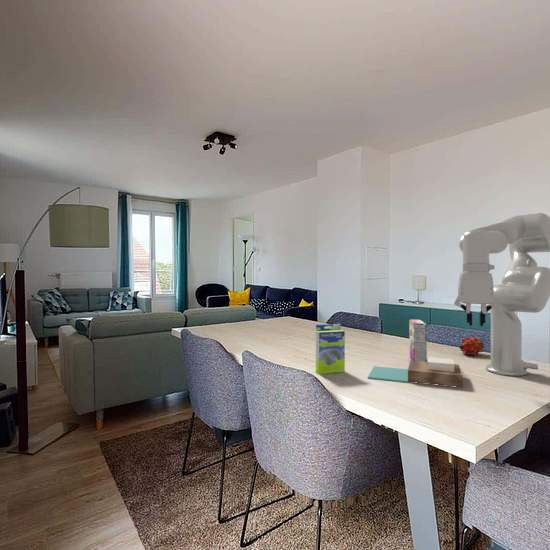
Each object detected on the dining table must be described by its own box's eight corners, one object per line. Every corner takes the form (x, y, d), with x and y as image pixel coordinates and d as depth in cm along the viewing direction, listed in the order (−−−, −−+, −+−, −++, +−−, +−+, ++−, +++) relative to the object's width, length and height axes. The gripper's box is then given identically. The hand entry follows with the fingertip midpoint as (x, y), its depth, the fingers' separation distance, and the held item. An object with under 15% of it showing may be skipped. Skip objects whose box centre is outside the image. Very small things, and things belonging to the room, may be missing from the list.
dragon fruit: (485, 357, 160) (463, 363, 157) (471, 343, 166) (449, 349, 163) (493, 344, 154) (470, 350, 151) (478, 330, 161) (456, 335, 158)
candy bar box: (408, 358, 154) (408, 319, 153) (421, 358, 152) (421, 319, 152) (413, 365, 143) (413, 323, 142) (427, 365, 142) (427, 323, 141)
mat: (410, 370, 135) (410, 369, 135) (407, 382, 121) (407, 381, 121) (374, 367, 140) (374, 366, 140) (367, 378, 126) (367, 376, 126)
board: (458, 376, 128) (458, 364, 128) (461, 388, 115) (462, 375, 115) (410, 371, 134) (410, 360, 134) (407, 382, 121) (407, 370, 121)
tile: (453, 366, 125) (453, 359, 125) (454, 371, 119) (454, 364, 119) (427, 364, 128) (427, 357, 128) (427, 369, 122) (427, 361, 122)
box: (319, 374, 131) (318, 326, 131) (314, 371, 135) (314, 324, 134) (345, 372, 134) (345, 325, 133) (340, 369, 138) (340, 323, 137)
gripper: (502, 268, 119) (502, 325, 119) (448, 269, 126) (448, 322, 126) (507, 268, 112) (506, 328, 113) (448, 269, 119) (448, 325, 119)
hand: (475, 324), depth 119 cm, fingers open, 2 cm apart
